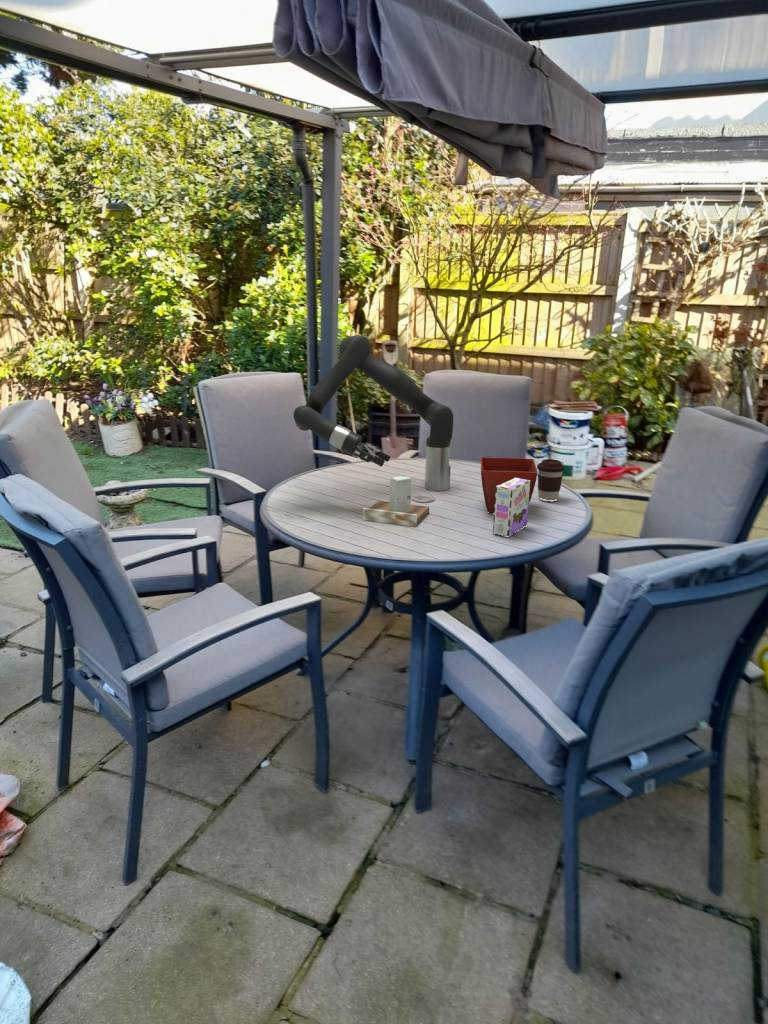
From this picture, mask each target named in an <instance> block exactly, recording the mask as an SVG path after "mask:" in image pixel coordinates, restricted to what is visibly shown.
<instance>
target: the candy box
mask: <svg viewBox="0 0 768 1024" xmlns="http://www.w3.org/2000/svg"><path fill="white" fill-rule="evenodd" d="M529 493H530V480H525V479H520V478H514V479H512V480H510V481H507V482H505V483H503V484H501V485H498V486H496V494H495V508H494V514H493V523H492V525H493V526H492V535H495V534H498V535H503V536H510V535H512V534H514V533H515V532H517V531H518V530H520V529H521V528H523V527H524V526H526V525H527V526H528V517H529V504H530V503H529ZM517 533H518V532H517ZM498 535H497V536H498ZM514 535H515V534H514ZM512 536H513V535H512Z"/></svg>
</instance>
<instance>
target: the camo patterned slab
mask: <svg viewBox="0 0 768 1024" xmlns="http://www.w3.org/2000/svg"><path fill="white" fill-rule="evenodd" d="M429 514H430V506H426V505H419V504H411V505H410V512H409V513H402V512H394V511H390V501H385V500H384V501H383V500H377V501H376V502H375V503H374V504H372V505H371V506H370V507H363V508H362V520H363V521H367V520H369V521H368V522H375V523H381V524H383V523H384V524H391V525H399V526H405V527H413V526H414V527H417V526H418V525H419V524H420V523H422V522H423V520H424V519H425V518H426V517H427V516H428V515H429Z"/></svg>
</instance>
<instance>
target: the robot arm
mask: <svg viewBox="0 0 768 1024" xmlns="http://www.w3.org/2000/svg"><path fill="white" fill-rule="evenodd" d="M371 347H372V346H371V342H370V340H369V339H368V338H367V337H366V336H364V335H362V334H355V335H351V336H348V337H345V338H344V339H343V340H342V341H340V343H339V346H338V351H339V355H340V356H341V357H340V358H339V360H338V361H337V362H336V363H335V365H333V366H332V368H331V369H330V370H328V372H327V373H326V374H325V375H324V376H323V377H321V378H320V380H319V381H318V382H317V384H316V385H315V386H314V388H313V389H312V390H311V391H310V392H309V395H308V397H307V402H306V403H305V405H300V406H297V407H296V408H294V411H293V414H292V415H293V420H294V422H295V424H296V427H297V428H298V429H299V430H301V431H303V432H304V431H312V432H313V433H315V435H316V436H317V437H318V438H320V439H321V440H323V441H326V442H327V443H328V444H330V445H332V446H333V447H334V448H337V449H339V450H340V451H342V452H344V453H346V454H348V455H350V456H353V455H354V456H356V457H358V458H360V459H361V460H363V461H365V462H366V463H369V462H370V463H374V464H375V465H377V466H379V467H383V466H384V465H385V462H386V463H389V461H390V459H391V456H390V455H388V454H387V453H386V452H383V451H382V449H381V448H380V447H378V446H376V445H375V444H372V443H370V442H368V441H365V443H364V442H362V440H363V436H362V435H360V434H358V433H356V432H355V431H353V430H350V429H348V428H347V427H345V426H343V425H340V424H337V423H336V422H334V421H332V420H331V419H328V418H326V417H325V416H324V415H323V411H324V410H325V407H326V406H328V404H329V402H330V401H331V400H332V399H333V397H334V396H335V395H336V393H337V392H338V391H339V389H340V388H341V386H342V384H343V383H345V381H346V380H347V378H349V376H351V374H352V373H353V371H355V370H356V369H358V370H359V371H361V372H362V373H364V374H365V375H366V376H367V377H369V378H370V379H371V380H372V381H374V382H375V383H376V384H377V385H379V386H380V387H381V388H383V390H385V391H386V392H387V393H388V394H390V395H391V396H392V397H393V398H395V399H397V400H398V401H399V402H401V403H403V404H404V405H405V406H407V407H409V408H411V409H412V410H413V411H414V412H416V413H417V414H418V416H420V417H421V418H422V419H423V420H424V421H425V422H426V424H428V425H429V426H430V427H429V428H430V429H429V435H428V437H427V438H426V442H425V445H426V446H425V449H426V450H425V477H424V487H425V489H426V490H428V491H433V492H442V491H447V490H450V488H451V487H450V486H451V465H450V454H451V452H450V451H451V441H452V438H453V433H454V431H453V430H454V412H453V411H452V409H451V408H450V407H449V406H446V405H444V404H441V403H439V402H438V401H436V400H434V399H433V398H431V397H430V396H428V395H427V394H426V393H424V392H423V391H422V390H421V388H420V387H419V386H418V385H417V384H416V382H415V381H414V380H413V379H412V378H411V377H410V376H409V375H407V374H406V373H405V372H404V371H402V370H401V369H399V368H398V367H396V366H394V365H392V364H390V363H388V362H386V361H384V360H382V359H380V358H377V357H376V356H375V355H374V354H372V353H371Z"/></svg>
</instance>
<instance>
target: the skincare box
mask: <svg viewBox="0 0 768 1024" xmlns="http://www.w3.org/2000/svg"><path fill="white" fill-rule="evenodd" d="M389 479H390V481H389V484H390V485H389V502H390V511H394V512H402V513H409V512H410V505H412V503H411V497H412V496H411V493H412V491H411V490H412V478H411V477H410V476H406V475H402V476H401V475H399V476H392V477H390V478H389Z"/></svg>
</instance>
